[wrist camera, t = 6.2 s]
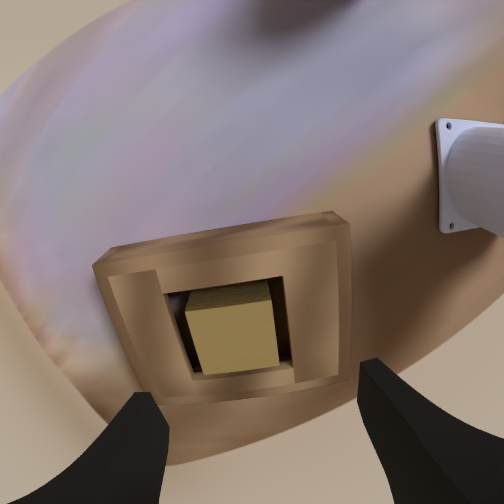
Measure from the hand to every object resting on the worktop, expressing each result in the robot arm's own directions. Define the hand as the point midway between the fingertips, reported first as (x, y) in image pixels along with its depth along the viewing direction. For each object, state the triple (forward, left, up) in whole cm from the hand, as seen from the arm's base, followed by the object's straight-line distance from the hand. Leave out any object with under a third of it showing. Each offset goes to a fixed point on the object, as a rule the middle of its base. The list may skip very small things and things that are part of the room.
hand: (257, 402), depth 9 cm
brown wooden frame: (+1, +2, -10) cm, 11 cm away
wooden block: (+1, +2, -11) cm, 11 cm away
